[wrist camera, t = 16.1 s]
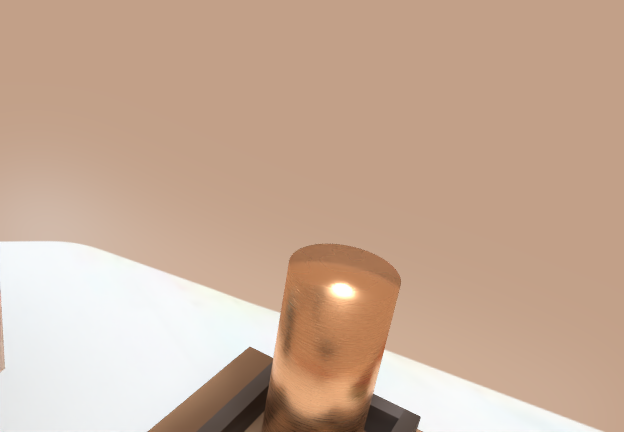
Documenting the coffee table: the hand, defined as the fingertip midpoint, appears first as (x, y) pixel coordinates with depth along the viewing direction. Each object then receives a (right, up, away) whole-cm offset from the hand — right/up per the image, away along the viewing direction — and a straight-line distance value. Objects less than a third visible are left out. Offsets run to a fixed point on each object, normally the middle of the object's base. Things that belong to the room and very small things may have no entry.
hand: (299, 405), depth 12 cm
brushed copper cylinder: (0, -10, +22) cm, 24 cm away
